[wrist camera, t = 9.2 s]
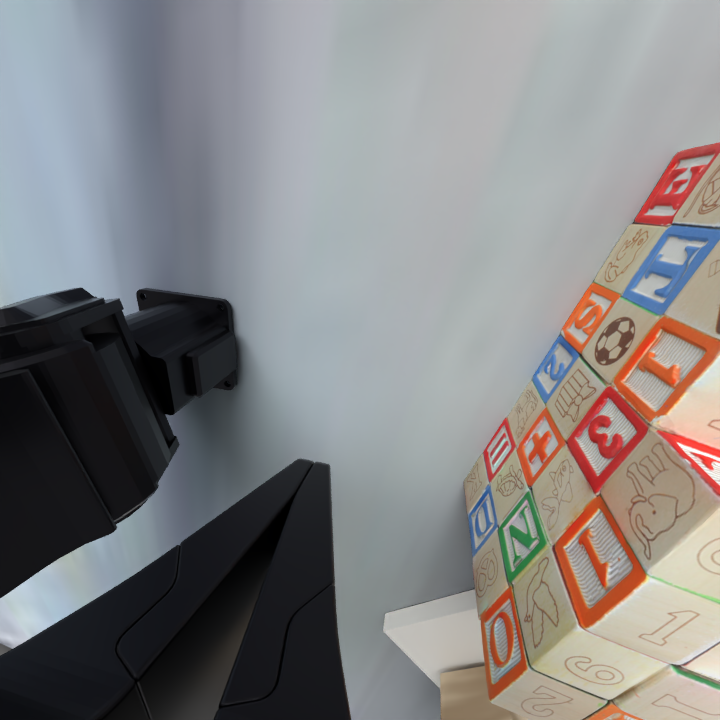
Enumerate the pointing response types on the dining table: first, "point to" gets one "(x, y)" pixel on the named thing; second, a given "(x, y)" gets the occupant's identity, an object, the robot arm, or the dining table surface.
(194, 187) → the dining table surface
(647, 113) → the dining table surface
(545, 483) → the stack of blocks
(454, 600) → the white l-shaped holder
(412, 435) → the dining table surface
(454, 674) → the two dot key
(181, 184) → the dining table surface
